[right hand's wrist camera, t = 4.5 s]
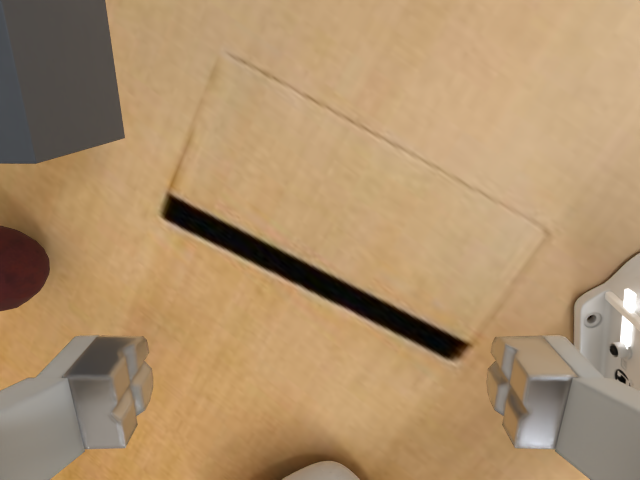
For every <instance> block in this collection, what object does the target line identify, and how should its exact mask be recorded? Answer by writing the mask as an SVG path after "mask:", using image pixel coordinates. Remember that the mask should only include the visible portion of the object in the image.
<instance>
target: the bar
mask: <svg viewBox="0 0 640 480" xmlns="http://www.w3.org/2000/svg"><path fill="white" fill-rule="evenodd" d="M123 138H125V135H124V128H123V121H122V114H121V108H120V101H119V94H118V87H117V80H116V73H115V66H114V59H113V52H112V45H111V38H110V31H109V25H108V18H107V11H106V4H105V0H0V163H10V164H36V163H40V162H43V161H47V160H50V159H54V158H57V157H61V156H64V155H68V154H71V153H75V152H78V151H81V150H85V149H88V148H92V147H95V146H99V145H102V144H106V143H109V142H113V141H116V140H120V139H123Z"/></svg>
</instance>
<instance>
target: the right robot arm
mask: <svg viewBox="0 0 640 480" xmlns="http://www.w3.org/2000/svg"><path fill="white" fill-rule="evenodd" d="M591 315H592V316H591ZM589 316H591V318H589V319H587V318H588V317H589ZM148 354H149V349H148V343H147V340H146V339H145V338H144V337H143V336H104V335H102V336H99V335H80V336H76V337H74V338H73V339H72V340H71V341H70V342H69V343H68V344H67V345H66V346H65V347H64V348H63V350H62V351H61V352H60V353H59V354H58V355H57V356H56V357H55V358H54V359H53V360H52V361H51V362H50V363H49V364H48V365H47V366H46V367H45V368H44V369H43V370H42V371H41V372H40V373H39V374H38V376H37V377H36V378H27V379H25V380H22V381H20V382H18V383H16V384H14V385H12V386H9V387H7V388H5V389H3V390H1V391H0V480H50V479H51V478H52V477H54V476H55V475H56V474H57V473H58V472H60V471H61V470H62V469H63V468H65V467H66V466H67V465H68V464H70V463H71V462H72V461H73V460H75V459H76V458H77V457H78V456H80V455H81V454H82V453H83V452H85V449H109V448H125V447H126V445H127V444H128V442H129V440H130V438H131V436H132V434H133V432H134V431H135V429H136V427H137V425H138V424H137V418H136V416H137V415H139V414H140V413H142V412H143V411H145V410H146V408H147V406H148V404H149V402H150V399H151V394H152V390H153V373H152V368H151V367H150V366H149V365H148V364H147V363H146V362H145V361H144V360H145V359H146V357H147V355H148ZM491 354H492V355H493V357H494V359H495V360H496V361H495V362H494V363H493V364H492V365H491V366H490V367H489V368H488V374H487V390H488V395H489V399H490V402H491V404H492V406H493V408H494V410H495V411H497V412H498V413H500V414H501V415H503V416H504V418H503V424H502V425H503V427H504V429H505V431H506V432H507V434H508V436H509V438H510V440H511V442H512V444H513V445H514V447H515V448H530V449H555V451H556V452H557V453H558V454H559V455H561V456H562V457H563V458H564V459H566V460H567V461H568V462H569V463H571V464H572V465H573V466H574V467H575V468H577V469H578V470H579V471H580V472H582V473H583V474H584V475H585V476H587V477H588V478H589V479H590V480H640V253H638V254H637V255H635V256H634V257H633V258H631V259H630V260H629V261H628V262H626V263H625V264H624V265H623V266H622V267H621V268H620V269H619V270H618V271H617V272H616V273H615V274H614V275H613V276H612V277H611V278H610V279H609V280H608V281H606V282H605V283H604V284H601V285H599V286H597V287H595V288H593V289H592V290H590V291H588V292H586V293H585V294H583V295H582V296H580V297H579V298H578V299H577V301H576V302H575V305H574V345H573V344H572V343H571V342H570V341H569V340H568V339H567V338H566V337H564V336H561V335H547V336H517V337H495V339H494V341H493V343H492V348H491Z"/></svg>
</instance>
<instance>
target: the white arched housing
mask: <svg viewBox="0 0 640 480" xmlns="http://www.w3.org/2000/svg"><path fill="white" fill-rule="evenodd" d="M282 480H360V479H359V478H358V477H357V476H356V475H355V474H354V473H353V472H352V471H351V470H349V469H348V468H347V467H345V466H344V465H342V464H340V463H338V462H334V461H321V462H318V463H314V464H311V465H309V466H307V467H304V468H302V469H300V470H298V471H296V472H294V473H292V474H290V475H288V476H287V477H285V478H283V479H282Z"/></svg>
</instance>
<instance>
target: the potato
mask: <svg viewBox="0 0 640 480" xmlns="http://www.w3.org/2000/svg"><path fill="white" fill-rule="evenodd" d="M49 270H50V268H49V258H48V256H47V254H46V252H45V250H44V249H43V248H42V247H41V246H40V245H39V244H38V243H37V242H36V241H35V240H33V239H32V238H30V237H28V236H27V235H25V234H23V233H22V232H20V231H17V230H14V229H11V228H7V227H3V226H0V311H4V310H9V309H13V308H17V307H19V306H20V305H22V304H23V303H25V302H27V301H28V300H29V299H31V298H32V297H33V296H34V295H35V294H37V293H38V292H39V291H40V290H41V288H42V287H43V286H44V284H45V281H46V279H47V277H48V275H49Z"/></svg>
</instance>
